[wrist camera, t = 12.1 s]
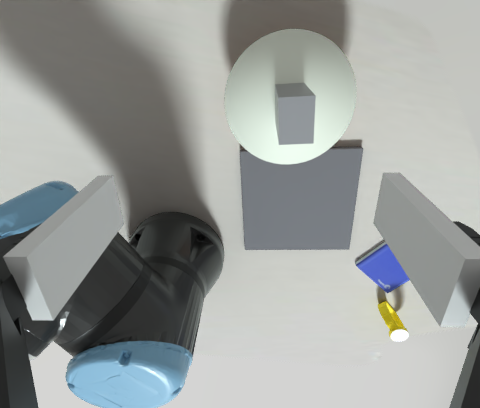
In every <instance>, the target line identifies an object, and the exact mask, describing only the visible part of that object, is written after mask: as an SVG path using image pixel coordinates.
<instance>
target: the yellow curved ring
mask: <svg viewBox="0 0 480 408" xmlns="http://www.w3.org/2000/svg"><path fill="white" fill-rule="evenodd" d="M378 309H379V311H380V313H381V316H382V318H383V319H384V321H385V323H386V324H387V326H388V328H389V329H390V331H389V336H390V338H391V339H392V340H393V341H397V342H401V341H404V340H406V339H407V338H408V336H409V333H408V331H407V329H406V328H405V327H404V326H403V324H402V322H401V320H400V318H399V317H398V315H397V314H396V312H395V311H394V310H393V309H392V307H391V306H390V305H389V304H388V303H387V301H385V302H383V303H380V304H378Z"/></svg>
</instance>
